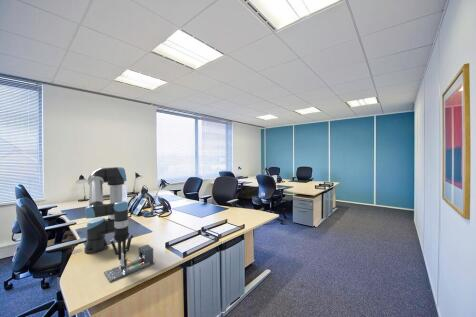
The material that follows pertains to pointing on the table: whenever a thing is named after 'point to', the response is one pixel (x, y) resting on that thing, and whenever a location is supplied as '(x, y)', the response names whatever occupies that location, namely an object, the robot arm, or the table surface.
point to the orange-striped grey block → (132, 261)
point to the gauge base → (122, 271)
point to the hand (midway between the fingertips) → (122, 264)
